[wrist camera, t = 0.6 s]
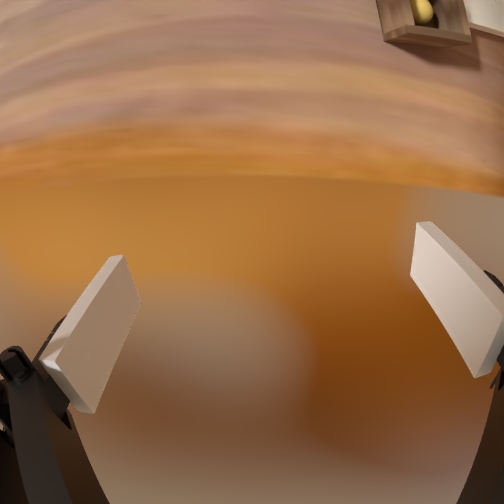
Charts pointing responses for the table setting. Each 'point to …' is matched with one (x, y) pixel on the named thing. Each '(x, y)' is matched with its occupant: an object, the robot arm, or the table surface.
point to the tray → (486, 15)
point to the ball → (421, 11)
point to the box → (431, 33)
